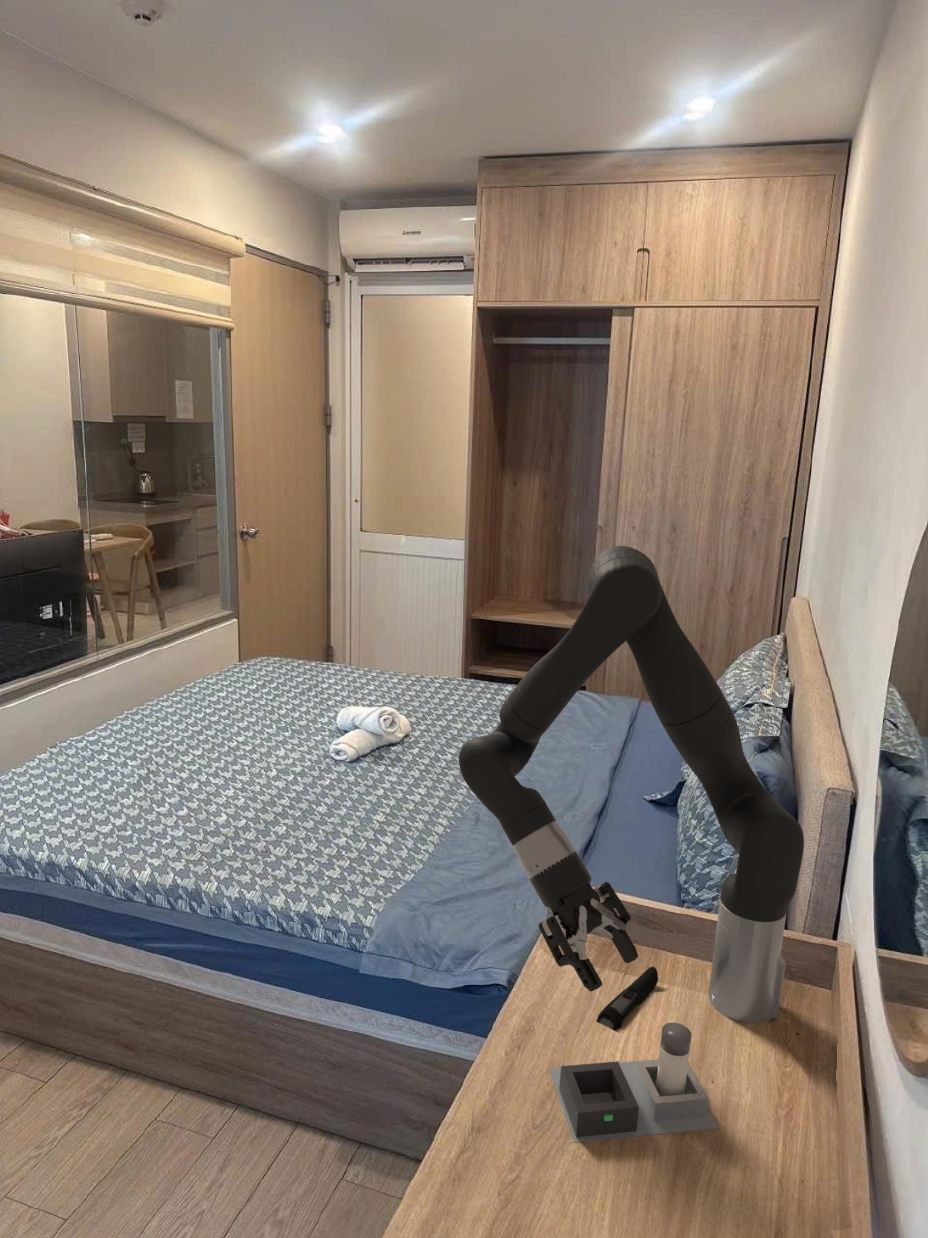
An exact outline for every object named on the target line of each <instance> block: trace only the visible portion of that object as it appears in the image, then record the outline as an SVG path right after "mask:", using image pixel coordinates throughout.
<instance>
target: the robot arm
mask: <svg viewBox="0 0 928 1238" xmlns="http://www.w3.org/2000/svg"><path fill="white" fill-rule="evenodd" d="M587 579H588V580H587V581H588V582H587V584H588V585H587V586H588V596H587V598H586V601H585V603H584V605H583V606H582V609H581V611H580V613H579V614H578V615H577V618H576V620H575V621H574V623H573V624H572V626H571V627H570V629H569V630H568V631H567V632H566V634H565V635H564V636H563V637H562V638H561V640H559V642H558V643H557V644H556V645H555V646H554V647H553V648H552V649H551V650H549V651H548V653H546V654H545V655H544V656H542V657H541V658H540V659H539V660H538V661H537V662H536V663H535V664H534V665H533V666H532V667H531V668H530V669H529V670H528V671H527V672H526V673H525V675H524V676H523V677H522V678H521V680H520V681H519V683H518V684H517V685H516V687H515V688H514V689H513V690H512V691H511V693H510V694H509V696H508V697H507V698H506V700H504V703H502V705H501V708H500V710H499V720H500V722H499V724H498V725H497V727H496V728H495V730H494V731H492V733H490V734H485V735H481V736H477V737H474V738H471V739H469V740H468V741H467V742H464V744H463V745H462V747H461V749H460V751H459V755H458V765H459V767H458V768H459V770H460V774H461V776H462V778H463V780H464V783H466V785H467V786H468V788H469V789H470V790H471V792H472V793H473V794H474V795H475V796H476V797H477V798H478V800H479V801H480V803H482V804H483V805H484V807H485V808H486V809H487V810H488V811H489V812H490V813H491V814H492V815H493V816H494V817H495V818H496V819H497V821H498V822H499V824H500V825H501V828H502V830H503V832H504V833H505V835H506V837H507V839H508V840H509V842H510V843H511V845H512V846H513V850H514V852H515V854H516V856H517V859H518V861H519V863H520V865H521V867H522V869H523V871H524V873H525V875H526V876H527V877H528V880H529V881H530V883H531V885H532V887H533V889H534V890H535V892H536V894H537V896H538V898H539V900H540V902H541V903H542V905H543V906H544V907H546V908H549V909H550V911H551V912H552V916H549V917H548V918H546V919H544V920H542V921H541V922H539V923H538V929H539V931H540V933H541V934H542V937H543V938H544V941H545V944H546V945H547V946H548V949H549V951H550V953H551V955H552V957H553V958H554V961H555V963H556V965H557V966H558V967H560V968H563V967H565V966H571V967H572V968H573V969H574V970H575V972H576V975H577V976H578V978H579V980H580V981H581V983H582V984H583V986H584V988H585V989H587V991H589V992H594V991H597V990H598V989H600V988H601V987H602V986H603V981H602V980H601V978H600V976H599V974H598V973H597V971H596V968H595V967H594V965H593V964H592V962H591V960H590V959H589V957H588V958H587V951H586V950H587V949H586V948H587V947H586V943H587V941H588V934H589V935H590V933H591V932H592V931H594V929H595V930H600V931H603V932H605V933H606V934H608V935H609V936H611V937H612V938H611V941H612V942H613V944H614V946H615V948H616V950H617V951H618V953H619V955H620V956H621V958H622V961H624V963H625V964H630V963H631V962H633V961H636V960H637V959H638V958H639V954H638V951H637V949H636V946H635V944H634V943H633V941H632V939H631V937H630V936H629V934H628V933H627V930H626V929H627V924H628V922H630V921H631V919H632V917H631V915H630V913H629V912H628V909H627V908H626V907H625V905H624V904H623V903H622V901H621V899H620V898H619V896H618V895H617V893H616V891H615V890H614V888H613V887H612V885H611V884H610V882H608V881H605V882H603V883H601V884H599V885H597V886H596V887H594V888H593V887H592V885H591V882H592V876H591V874H590V872H589V870H588V869H587V867H586V866H585V864H584V862H583V860H582V859H581V857H580V855H579V853H578V852H577V849H575V847H574V845H573V843H572V841H571V840H570V839H569V837H568V835H567V834H566V832H565V831H564V829H563V828H562V827H561V825H560V824H559V823H558V820H557V821H556V818H555V816H554V814H553V813H552V811H551V809H550V808H549V806H548V804H547V803H546V801H545V799H544V797H543V796H542V795H541V793H539V791H538V790H536V789H535V788H532V787H526V786H523V785H522V784H521V783H520V782H519V780H518V779H517V778H516V776H517V775H519V773H520V772H521V771H522V770H523V769H524V768H525V767H526V765H528V763H529V761H530V759H531V758H532V756H533V754H534V752H535V750H536V748H537V746H538V744H539V742H540V740H541V737H542V736H543V735H544V734H545V733H546V732H547V730H548V729H550V726H551V725H552V724H553V723H554V721H555V720H556V719H557V718H558V717H559V715H560V714H561V713H562V711H563V710H564V709H565V708H566V706H567V705H568V704H569V702H570V701H571V699H572V698H573V697H574V696H575V695H576V693H577V692H578V691H579V690H580V689H581V688H582V686H583V685H584V684H585V683H586V682H587V681H588V679H589V678H590V677H591V676H592V675H593V674H594V672H596V671H597V669H599V667H600V666H602V664H603V663H604V662H606V661H607V659H609V657H610V656H612V654H613V653H615V652H616V651H617V650H618V649H619V648H620V647H621V646H622V645H623V644H624V643H625V642H626V643H627V645H628V647H629V648H630V651H631V652H632V656H633V658H634V660H635V663H636V666H637V668H638V672H639V674H640V678H641V680H642V683H643V686H644V688H645V691H646V693H647V696H648V698H649V701H650V703H651V705H652V707H653V709H654V711H655V714H656V716H657V718H658V720H659V722H660V724H661V725H662V727H663V728H664V730H665V732H666V734H667V736H668V738H669V739H670V740H671V742H672V744H673V745H674V747H675V748H676V749H677V751H678V753H679V754H680V756H681V757H682V759H683V760H684V762H685V763H686V765H687V766H688V767H689V768H690V770H691V771H692V772H693V774H694V775H695V777H697V779H698V781H699V782H700V784H701V786H702V787H703V789H704V791H705V793H706V796H707V798H708V800H709V802H710V805H711V807H712V809H713V812H714V814H715V817H716V820H717V821H718V824H719V826H720V829H721V831H722V834H723V835H724V838H725V840H726V841H727V842H728V843H729V845H730V846H731V848H733V850H734V851H735V852H736V853H737V855H738V858H737V866H736V871H735V873H732V874H729V875H728V876H726V877H725V878H724V880H723V881H722V884H721V889H720V898H719V904H718V905H719V906H718V912H717V913H718V914H717V920H716V921H717V922H716V928H715V929H716V931H715V938H714V939H715V940H714V946H713V956H712V962H711V969H710V971H711V973H710V979H709V987H708V1000H709V1003H710V1004H711V1005H712V1007H713V1008H714V1009H715V1010H716V1011H717V1012H718V1013H720V1014H721V1015H723V1016H724V1017H726V1018H728V1019H730V1020H733V1021H736V1022H741V1023H744V1024H745V1023H746V1024H759V1023H762V1022H765V1021H766V1022H768V1023H769V1022H770V1021H771V1020H772V1019H778V1018H779V1010H780V1003H781V998H782V991H783V982H784V976H785V969H786V959H784V958H783V956H782V955H781V954H782V947H783V940H784V933H785V926H786V918H787V911H788V906H789V904H790V903H791V901H792V900H793V899H794V896H795V894H796V890H797V887H798V882H799V876H800V871H801V867H802V862H803V856H804V850H805V847H804V846H805V837H804V831H803V829H802V826H801V824H800V823H799V822H798V821H797V819H796V818H795V817H794V816H793V815H791V814H790V813H789V812H788V810H787V809H785V808H784V806H783V805H781V804H780V803H779V802H778V801H777V800H776V799H775V798H774V797H773V796H772V795H771V794H770V793H769V792H768V790H767V789H766V788H765V787H764V785H763V784H762V782H761V780H759V778H758V777H757V775H756V773H755V772H754V770H753V769H752V767H751V765H750V764H749V762H748V761H747V758H746V755H745V753H744V750H743V749H744V747H743V743H742V739H741V738H742V737H741V733H740V728H739V726H738V725H739V724H738V722H737V719H736V717H735V714H734V711H733V710H732V708H731V706H730V704H729V703H728V701H727V699H726V697H725V695H724V692H723V691H722V689H721V688H720V686H719V684H718V683H717V681H716V679H715V678H714V676H713V675H712V673H711V671H710V670H709V667H708V666H707V665H706V663H705V661H704V660H703V658H701V656H700V653H698V651H697V649H696V648H695V647H694V645H693V643H692V642H691V641H690V640H689V638H688V637H687V635H686V633H685V632H684V631H683V629H682V628H681V626H680V625H679V622H678V621H677V619H676V617H675V615H674V613H673V609H672V608H671V606H670V604H669V600H668V599H667V597H666V594H665V592H664V589H663V586H662V584H661V581H660V577H659V574H658V571H657V569H656V566H655V564H654V562H652V560H651V559H650V558H649V557H648V556H647V555H646V554H644V552H642V551H640V550H638V549H636V548H634V547H631V546H625V545H615V546H611V547H608V548H606V549H605V550H603V551H602V552H600V553H599V554H598V556H597V557H596V558H595V560H594V561H593V562H592V564H591V567H590V570H589V573H588V578H587ZM615 909H616V911H617V912H616V911H615ZM617 913H618V914H619V915H618V914H617ZM561 950H562V951H561Z"/></svg>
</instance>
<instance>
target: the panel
mask: <svg viewBox="0 0 928 1238" xmlns="http://www.w3.org/2000/svg"><path fill="white" fill-rule="evenodd" d="M656 1060H659V1058H657V1059H655V1058H654V1059H646V1060H635V1061H633V1060H632V1061H621V1062H619V1065H620V1067H621V1069H622V1071H623V1073H624V1076H625V1078H626V1080H627V1082H628V1084H629V1087H630V1089H631V1091H632V1093H633V1095H634V1097H635V1100H636V1102H637V1104H638V1106H639V1111H638V1120H637V1130H636V1131H634V1132H624V1133H614V1134H604V1135H594V1136H584V1137H576V1136H575V1133H574V1130H573V1127H572V1124H571V1122H570V1119H569V1116H568V1113H567V1110H566V1107H565V1104H564V1102H563V1099H562V1096H561V1093H560V1090H559V1086H560V1073H561V1067H551V1068H548V1070H549V1073H550V1076H551V1079H552V1082H553V1086H554V1087H555V1090H556V1093H557V1096H558V1100H559V1102H560V1105H561V1108H562V1110H563V1113H564V1117H565V1120H566V1123H567V1125H568V1128H569V1130H570V1134H571V1137H572V1140H573V1142H574V1143H575V1144H576V1143H583V1142H584V1143H587V1142H593V1141H594V1142H595V1141H596V1142H597V1141H604V1140H614V1139H624V1138H635V1137H644V1136H652V1135H653V1136H655V1135H664V1134H674V1133H675V1134H676V1133H684V1132H694V1131H703V1130H712V1129H713V1130H714V1129H720V1127H719V1125H718V1123H717V1121H716V1119H715V1117H714V1116H713V1114H712V1113H711V1110H710V1109H709V1108H708V1109H707V1116H696V1117H686V1118H676V1119H666V1120H656V1121H653V1119H652V1117H651V1114H650V1112H649V1110H648V1108H647V1106H646V1104H645V1102H644V1099H643V1097H642V1095H641V1093H640V1091H639V1089H638V1087H637V1085H636V1082H635V1080H634V1071H635V1062H644V1061H656ZM653 1084H654V1086H655V1088H656V1083H653ZM685 1094H687V1093H686V1091H685ZM582 1098H583V1101H584V1103H585V1104H592V1103H602V1102H613V1098H612V1096H611V1094H610V1092H606V1093H595V1094H584V1095H582Z"/></svg>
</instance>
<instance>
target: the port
mask: <svg viewBox="0 0 928 1238" xmlns="http://www.w3.org/2000/svg"><path fill="white" fill-rule="evenodd" d="M619 1063H620V1062H619V1061H618V1060H617V1061H606V1062H595V1063H593V1062H592V1063H584V1064H583V1063H582V1064H581V1063H580V1064H572V1065H561V1066H560V1068H561V1073H560V1086H559V1090H560V1093H561V1096H562V1099H563V1102H564V1104H565V1107H566V1110H567V1113H568V1116H569V1119H570V1122H571V1124H572V1127H573V1130H574V1133H575V1136H576V1137H584V1136H594V1135H604V1134H614V1133H624V1132H634V1131H636V1130H637V1120H638V1111H639V1106H638V1104H637V1102H636V1100H635V1097H634V1095H633V1093H632V1091H631V1089H630V1087H629V1084H628V1082H627V1080H626V1078H625V1076H624V1073H623V1071H622V1069H621V1067H620V1065H619ZM606 1092H610V1094H611V1096H612V1098H613V1102H602V1103H592V1104H585V1103H584V1101H583V1098H582V1095H584V1094H595V1093H606Z"/></svg>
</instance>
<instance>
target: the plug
mask: <svg viewBox="0 0 928 1238" xmlns="http://www.w3.org/2000/svg"><path fill="white" fill-rule="evenodd" d="M691 1042H692V1032H691V1030H690V1029H689V1028H688V1027H687V1026H685V1025H684V1024H682V1023H679V1022H667V1023H665V1024H664V1025H663V1026H662V1028H661V1037H660V1043H659V1044H660V1046H659V1054H658V1059H659V1062H658V1071H657V1080H656V1090H657V1092H658V1094H659V1096H660V1097H662V1096H673V1095H684V1094H685V1085H686V1077H687V1069H688V1063H689V1061H690V1060H689V1058H690V1050H691Z"/></svg>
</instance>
